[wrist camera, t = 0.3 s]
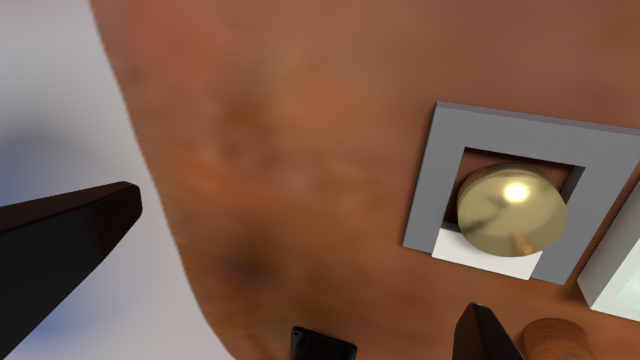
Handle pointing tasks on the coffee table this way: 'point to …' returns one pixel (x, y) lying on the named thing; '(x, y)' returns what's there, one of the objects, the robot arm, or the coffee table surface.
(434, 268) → the coffee table surface
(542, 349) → the copper cell
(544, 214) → the brass plunger
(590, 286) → the trough
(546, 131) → the grey square tray
